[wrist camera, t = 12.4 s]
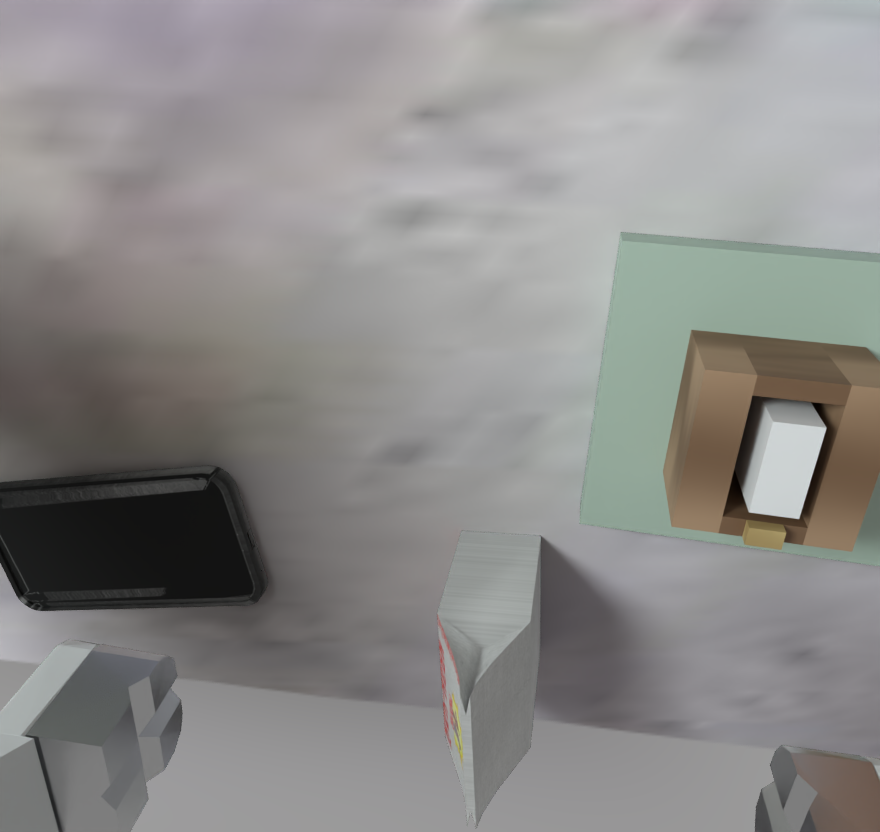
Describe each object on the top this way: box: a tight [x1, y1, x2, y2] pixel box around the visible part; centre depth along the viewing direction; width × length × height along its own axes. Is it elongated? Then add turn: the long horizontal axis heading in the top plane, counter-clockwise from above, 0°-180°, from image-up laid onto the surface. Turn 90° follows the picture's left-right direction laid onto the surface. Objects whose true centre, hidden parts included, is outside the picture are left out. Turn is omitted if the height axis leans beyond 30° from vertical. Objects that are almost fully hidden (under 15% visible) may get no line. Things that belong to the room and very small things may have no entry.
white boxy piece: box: [437, 531, 541, 828], centre depth 32 cm, size 4×7×10 cm, turn 3°
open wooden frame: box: [663, 330, 880, 552], centre depth 26 cm, size 6×6×4 cm
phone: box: [0, 466, 268, 611], centre depth 39 cm, size 8×1×15 cm
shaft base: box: [579, 232, 880, 566], centre depth 27 cm, size 12×12×6 cm
